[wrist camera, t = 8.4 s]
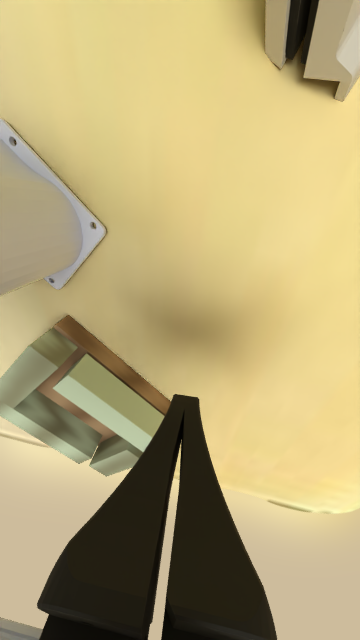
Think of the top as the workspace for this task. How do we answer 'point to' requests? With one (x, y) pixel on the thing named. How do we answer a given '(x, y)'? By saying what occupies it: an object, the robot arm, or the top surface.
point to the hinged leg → (110, 401)
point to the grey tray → (60, 413)
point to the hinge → (316, 38)
